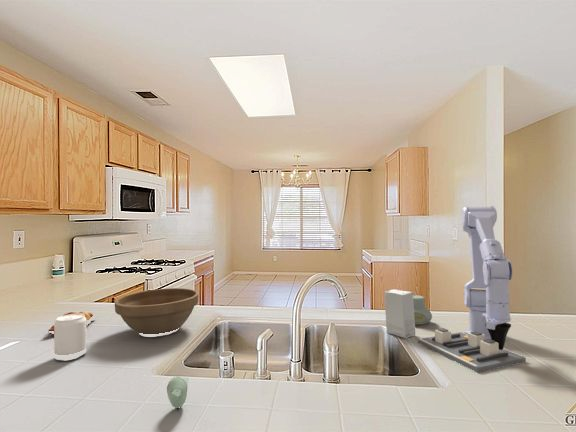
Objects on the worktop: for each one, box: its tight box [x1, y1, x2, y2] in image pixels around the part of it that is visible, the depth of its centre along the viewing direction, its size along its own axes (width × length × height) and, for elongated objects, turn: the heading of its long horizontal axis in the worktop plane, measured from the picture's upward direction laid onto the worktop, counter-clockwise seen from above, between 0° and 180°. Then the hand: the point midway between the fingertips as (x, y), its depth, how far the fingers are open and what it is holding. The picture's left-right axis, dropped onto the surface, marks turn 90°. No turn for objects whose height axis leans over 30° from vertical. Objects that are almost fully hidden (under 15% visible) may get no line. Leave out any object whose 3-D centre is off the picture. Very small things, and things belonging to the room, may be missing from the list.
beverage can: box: [53, 314, 88, 355], centre depth 100 cm, size 8×8×12 cm
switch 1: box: [434, 327, 452, 344], centre depth 104 cm, size 4×3×4 cm
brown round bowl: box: [114, 287, 199, 334], centre depth 122 cm, size 28×28×13 cm
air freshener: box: [413, 294, 433, 326], centre depth 128 cm, size 11×8×10 cm
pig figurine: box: [166, 375, 189, 409], centre depth 72 cm, size 8×4×7 cm, turn 2°
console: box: [417, 331, 527, 373], centre depth 100 cm, size 18×22×2 cm
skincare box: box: [383, 288, 416, 339], centre depth 116 cm, size 8×6×15 cm
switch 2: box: [480, 339, 499, 356], centre depth 94 cm, size 4×3×4 cm
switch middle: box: [468, 331, 485, 347], centre depth 101 cm, size 4×3×4 cm
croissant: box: [47, 311, 93, 331], centre depth 126 cm, size 21×10×8 cm, turn 170°
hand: (498, 348), depth 96 cm, fingers closed
